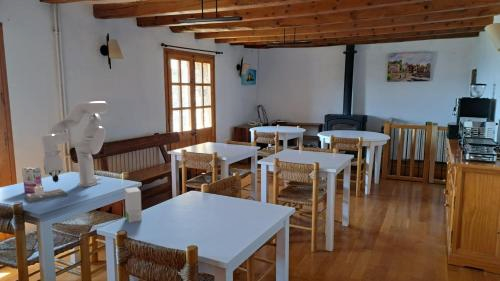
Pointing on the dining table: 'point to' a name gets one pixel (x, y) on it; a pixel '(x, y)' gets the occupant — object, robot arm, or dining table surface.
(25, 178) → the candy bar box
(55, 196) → the console
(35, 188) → the fader knob
